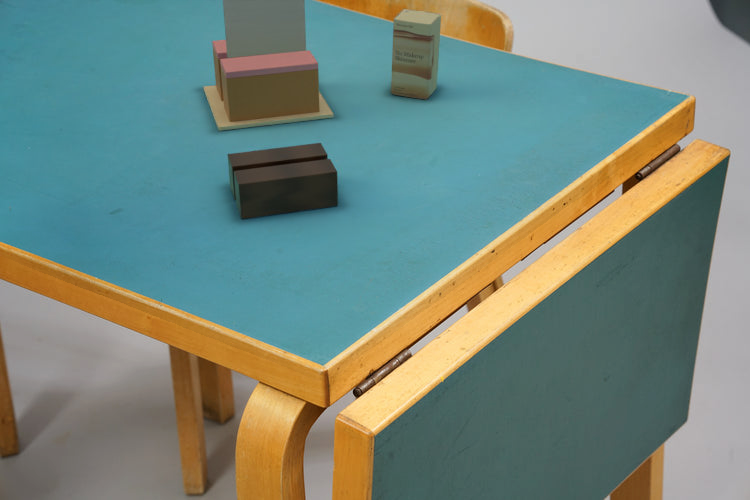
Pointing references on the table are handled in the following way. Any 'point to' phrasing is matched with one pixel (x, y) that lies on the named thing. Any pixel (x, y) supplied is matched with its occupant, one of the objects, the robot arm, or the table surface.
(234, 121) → the pink slotted holder
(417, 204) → the table surface
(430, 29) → the cosmetic box
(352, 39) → the table surface
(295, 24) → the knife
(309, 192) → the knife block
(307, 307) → the table surface
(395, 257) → the table surface
